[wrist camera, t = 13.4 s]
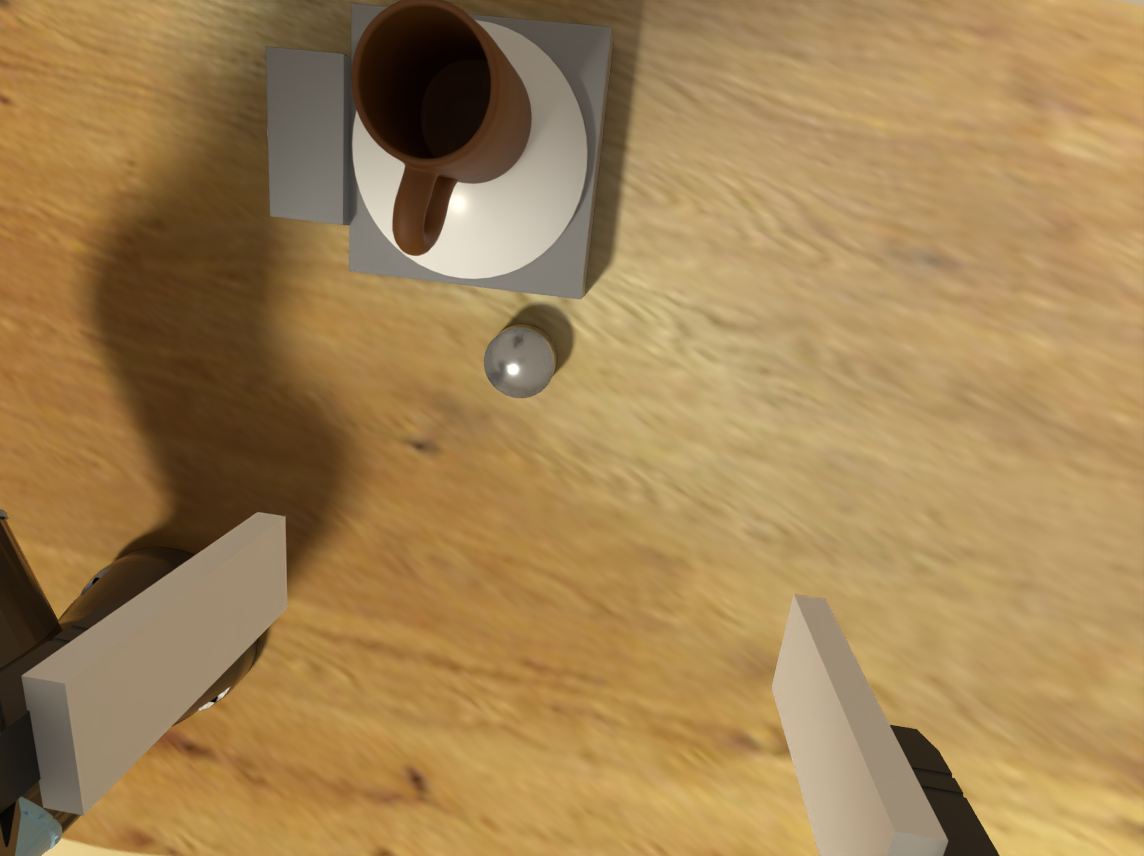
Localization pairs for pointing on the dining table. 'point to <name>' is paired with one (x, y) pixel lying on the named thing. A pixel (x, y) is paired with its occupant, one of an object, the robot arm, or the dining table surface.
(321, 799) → the dining table surface
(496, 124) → the mug
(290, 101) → the scale
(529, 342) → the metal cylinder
